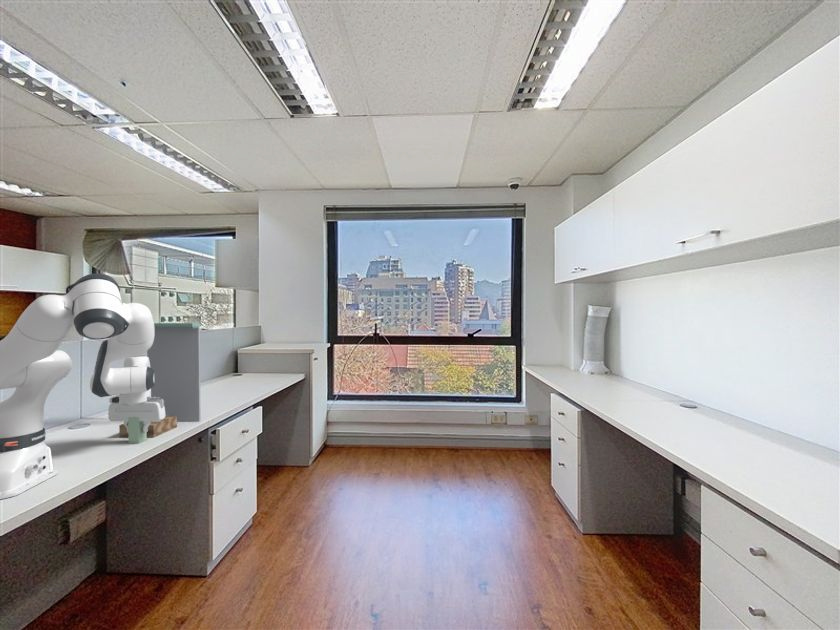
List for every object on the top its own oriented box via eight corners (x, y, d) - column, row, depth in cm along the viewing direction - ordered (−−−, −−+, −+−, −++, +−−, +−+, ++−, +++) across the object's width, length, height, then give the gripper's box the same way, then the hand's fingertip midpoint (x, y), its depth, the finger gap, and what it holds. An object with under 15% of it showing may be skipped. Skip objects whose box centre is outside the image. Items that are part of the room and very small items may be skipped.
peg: (138, 443, 144) (138, 417, 144) (128, 443, 144) (128, 417, 144) (146, 439, 148) (146, 414, 148) (136, 439, 148) (136, 414, 148)
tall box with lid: (193, 424, 168) (192, 323, 168) (140, 424, 168) (139, 323, 168) (200, 420, 173) (199, 322, 173) (149, 420, 174) (148, 323, 173)
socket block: (153, 437, 151) (153, 425, 150) (119, 437, 151) (119, 425, 151) (176, 426, 165) (176, 415, 164) (145, 426, 165) (145, 415, 165)
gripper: (169, 395, 149) (169, 429, 149) (118, 395, 149) (118, 429, 149) (157, 398, 143) (158, 435, 143) (104, 398, 143) (105, 434, 143)
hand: (137, 432), depth 146 cm, fingers closed on peg, 4 cm apart
